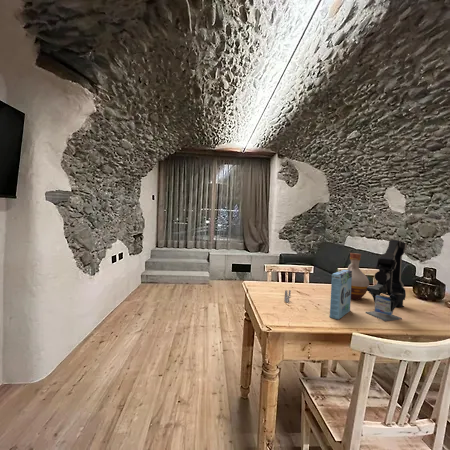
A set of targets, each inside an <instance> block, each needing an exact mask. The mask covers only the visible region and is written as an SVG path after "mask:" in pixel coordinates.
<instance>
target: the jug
mask: <svg viewBox="0 0 450 450" xmlns="http://www.w3.org/2000/svg"><path fill="white" fill-rule="evenodd" d="M349 254H350V256H349V260H350V264H348V267H347V269H346V270H349V271H352V282H351V301H352V300H354V301H359V300H361V299H362V298H363V297H364V296H365V295H366V294H367V293H368V291H367V287H368V286H370V281H369V278H368V276H367V275H366V274H365V273H364V272H363V271H362V270H361V268H360V261H361V260H362V258H361V257H362V253H355V252H349Z"/></svg>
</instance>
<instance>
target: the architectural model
mask: <svg viewBox="0 0 450 450" xmlns="http://www.w3.org/2000/svg"><path fill="white" fill-rule="evenodd" d="M291 291H292V290H290V289H287V290H284V302H285V303H290V299H291V298H292V297H291V296H292V295H291V294H292V293H291Z"/></svg>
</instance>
